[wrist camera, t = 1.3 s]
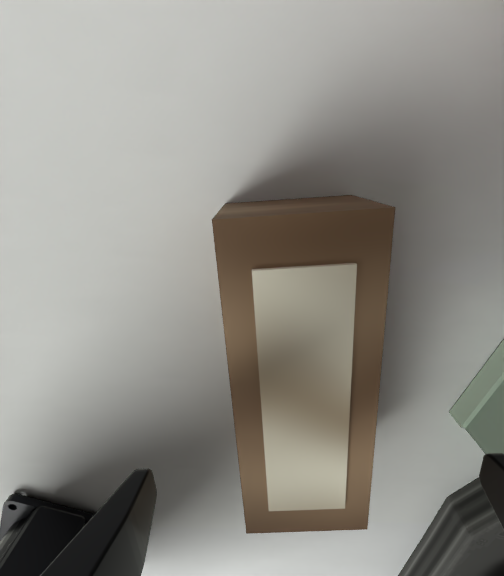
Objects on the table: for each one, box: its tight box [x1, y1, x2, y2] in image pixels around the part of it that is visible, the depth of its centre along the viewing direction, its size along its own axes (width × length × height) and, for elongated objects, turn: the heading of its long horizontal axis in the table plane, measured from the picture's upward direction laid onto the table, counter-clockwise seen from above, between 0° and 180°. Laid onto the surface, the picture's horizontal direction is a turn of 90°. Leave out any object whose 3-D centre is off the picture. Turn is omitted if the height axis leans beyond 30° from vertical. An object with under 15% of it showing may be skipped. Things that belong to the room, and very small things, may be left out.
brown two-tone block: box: [212, 195, 395, 533], centre depth 13 cm, size 13×5×5 cm, turn 4°
